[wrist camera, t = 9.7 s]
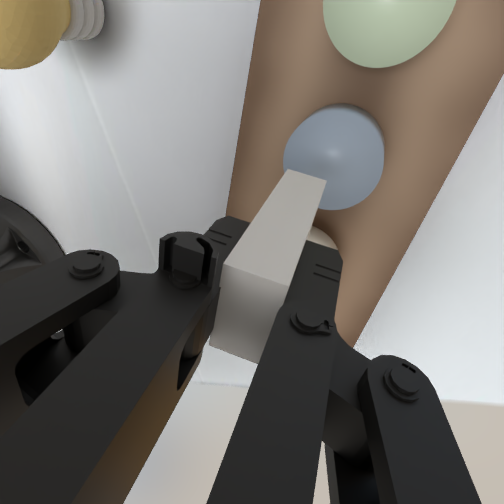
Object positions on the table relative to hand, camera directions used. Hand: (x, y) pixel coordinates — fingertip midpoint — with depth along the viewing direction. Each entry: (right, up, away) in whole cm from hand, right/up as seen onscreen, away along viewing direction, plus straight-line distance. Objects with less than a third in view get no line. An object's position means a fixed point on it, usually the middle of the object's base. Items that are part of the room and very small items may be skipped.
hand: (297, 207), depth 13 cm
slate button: (+3, +4, +6) cm, 8 cm away
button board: (+3, +3, +11) cm, 12 cm away
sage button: (+4, +10, +2) cm, 11 cm away
